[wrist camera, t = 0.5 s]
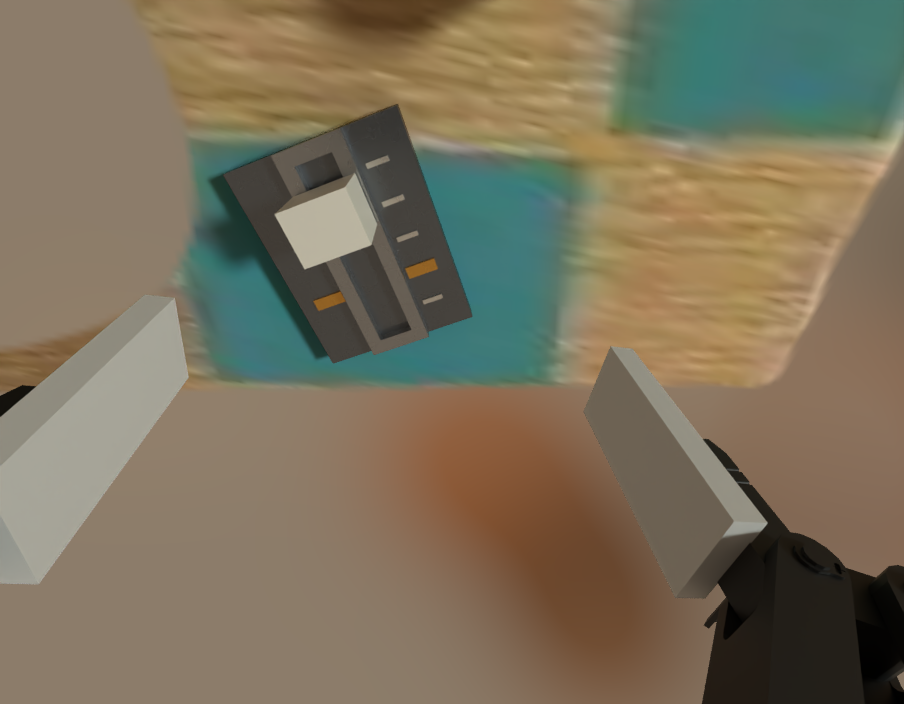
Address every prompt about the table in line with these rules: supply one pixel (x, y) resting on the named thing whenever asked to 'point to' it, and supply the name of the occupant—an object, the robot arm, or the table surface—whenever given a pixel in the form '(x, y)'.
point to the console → (371, 268)
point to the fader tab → (328, 221)
